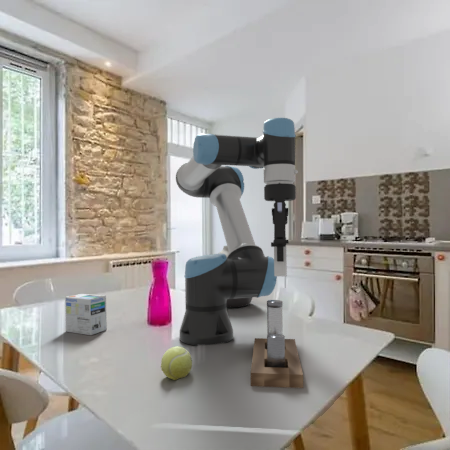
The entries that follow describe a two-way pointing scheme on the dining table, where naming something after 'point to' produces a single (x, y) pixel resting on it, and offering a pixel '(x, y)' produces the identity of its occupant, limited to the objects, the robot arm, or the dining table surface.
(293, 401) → the dining table surface
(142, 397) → the dining table surface
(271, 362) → the seated stud
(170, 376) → the tennis ball
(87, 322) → the light bulb box
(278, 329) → the stud
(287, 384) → the socket board
